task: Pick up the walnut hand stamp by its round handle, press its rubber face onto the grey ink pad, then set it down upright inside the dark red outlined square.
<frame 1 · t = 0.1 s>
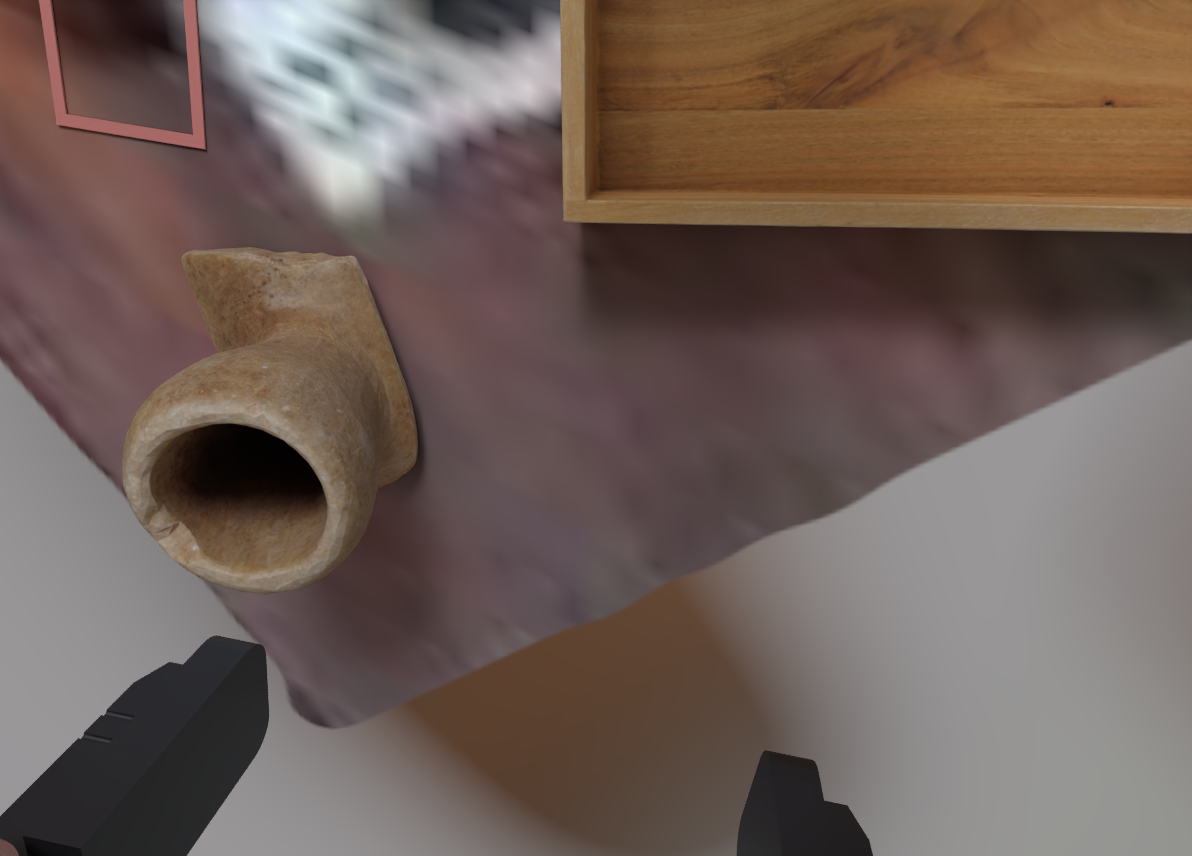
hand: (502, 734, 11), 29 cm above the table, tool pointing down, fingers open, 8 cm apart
tray: (917, 40, 33), on the table
marked square: (122, 49, 36), on the table
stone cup: (344, 360, 42), on the table
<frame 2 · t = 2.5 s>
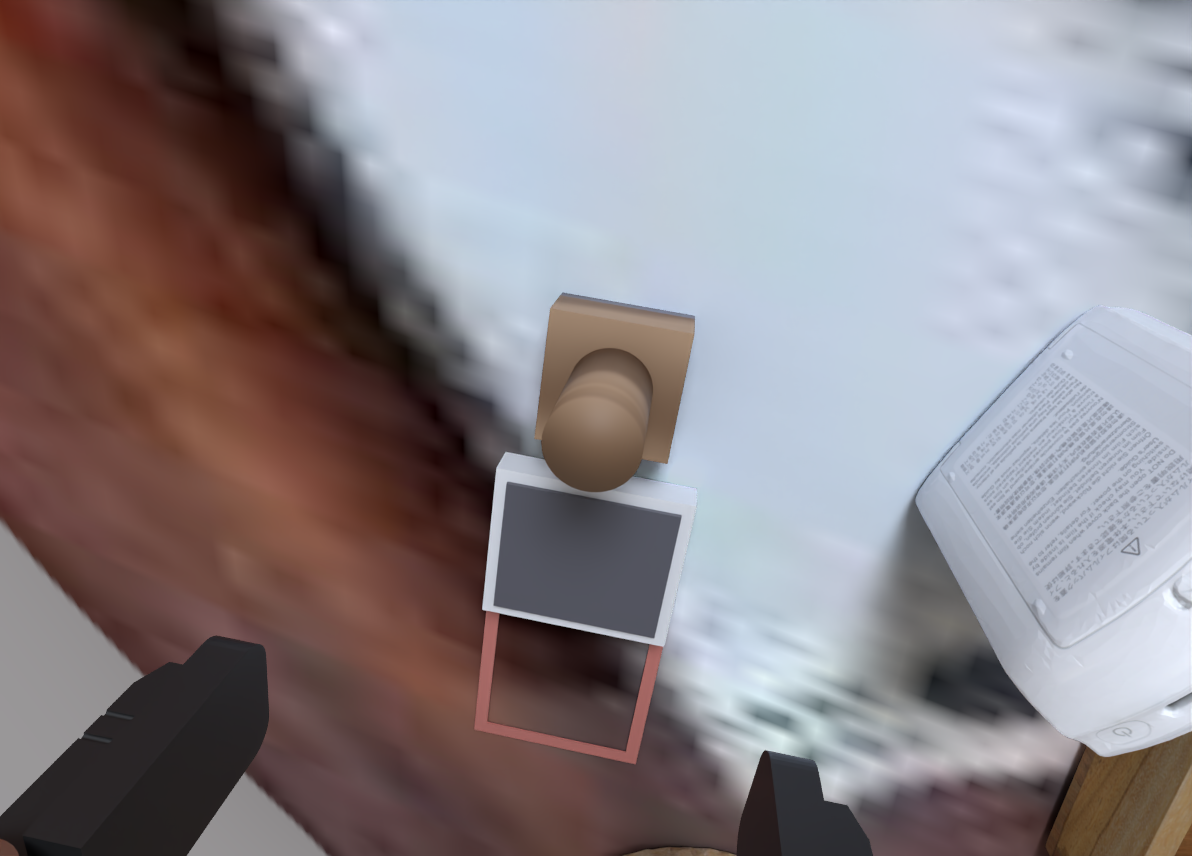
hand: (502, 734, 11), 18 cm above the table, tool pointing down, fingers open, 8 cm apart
ink pad: (588, 541, 31), on the table
photo printer: (1029, 427, 27), on the table
marked square: (565, 682, 34), on the table
hand stamp: (617, 366, 28), on the table
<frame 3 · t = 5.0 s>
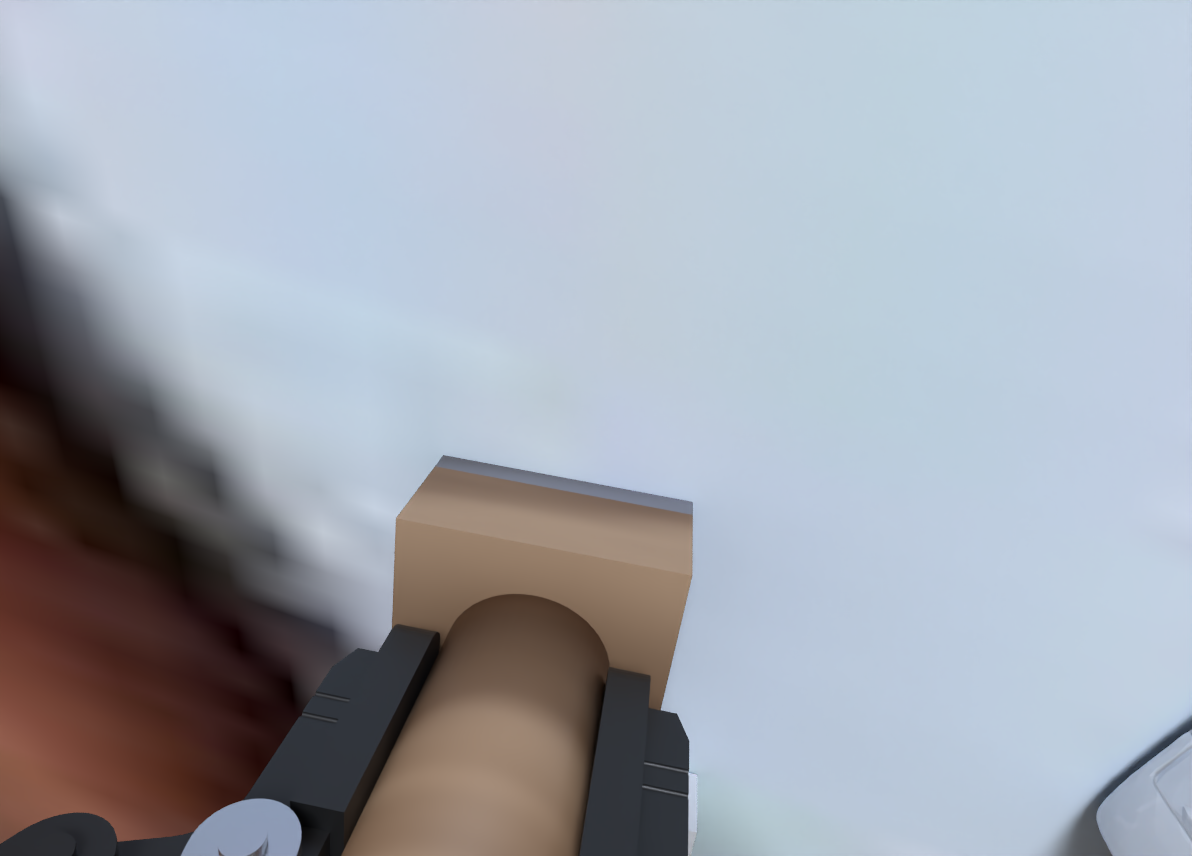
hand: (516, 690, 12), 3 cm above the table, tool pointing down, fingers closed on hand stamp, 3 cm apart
ink pad: (514, 839, 18), on the table
hand stamp: (551, 582, 15), on the table, touching gripper
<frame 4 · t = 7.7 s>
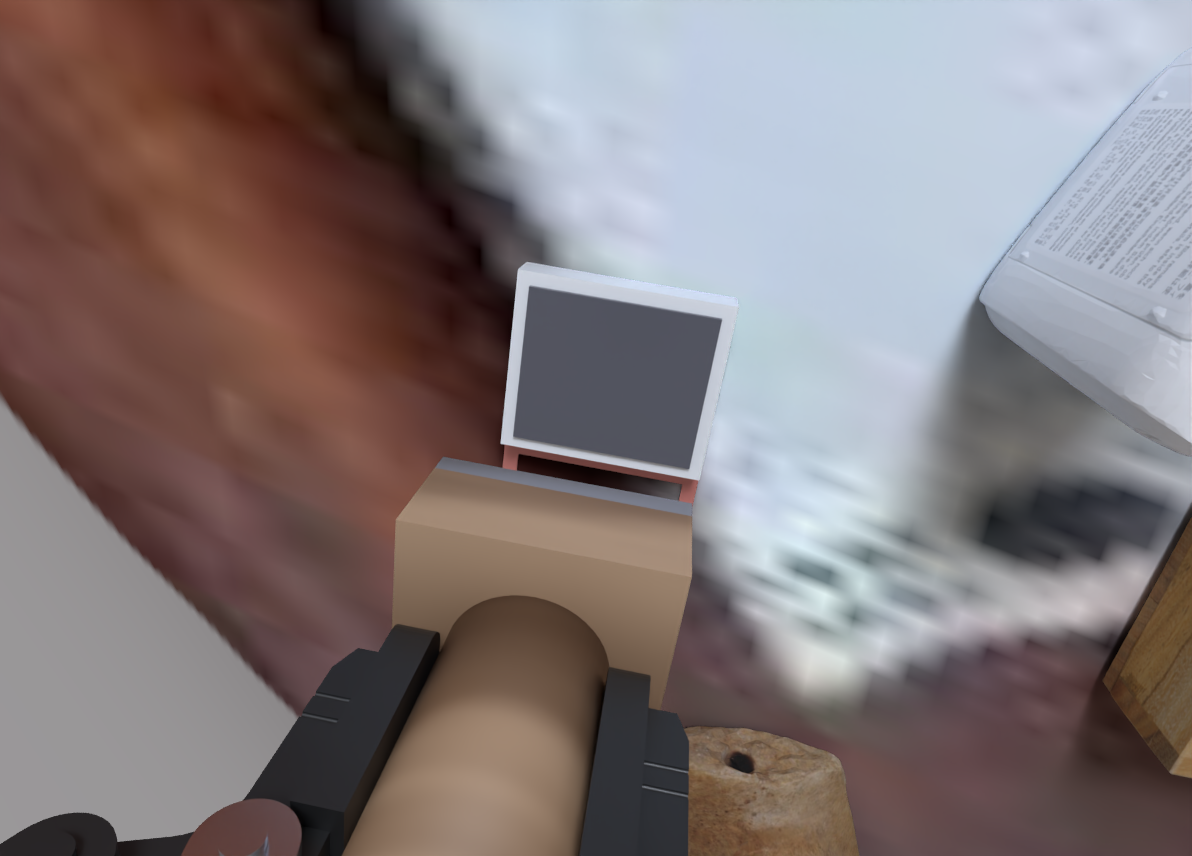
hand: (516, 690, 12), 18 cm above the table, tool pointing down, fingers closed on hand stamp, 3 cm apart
ink pad: (616, 367, 29), on the table
photo printer: (1106, 209, 25), on the table
marked square: (588, 538, 32), on the table
hand stamp: (551, 583, 15), point 15 cm above the table, touching gripper
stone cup: (770, 815, 37), on the table
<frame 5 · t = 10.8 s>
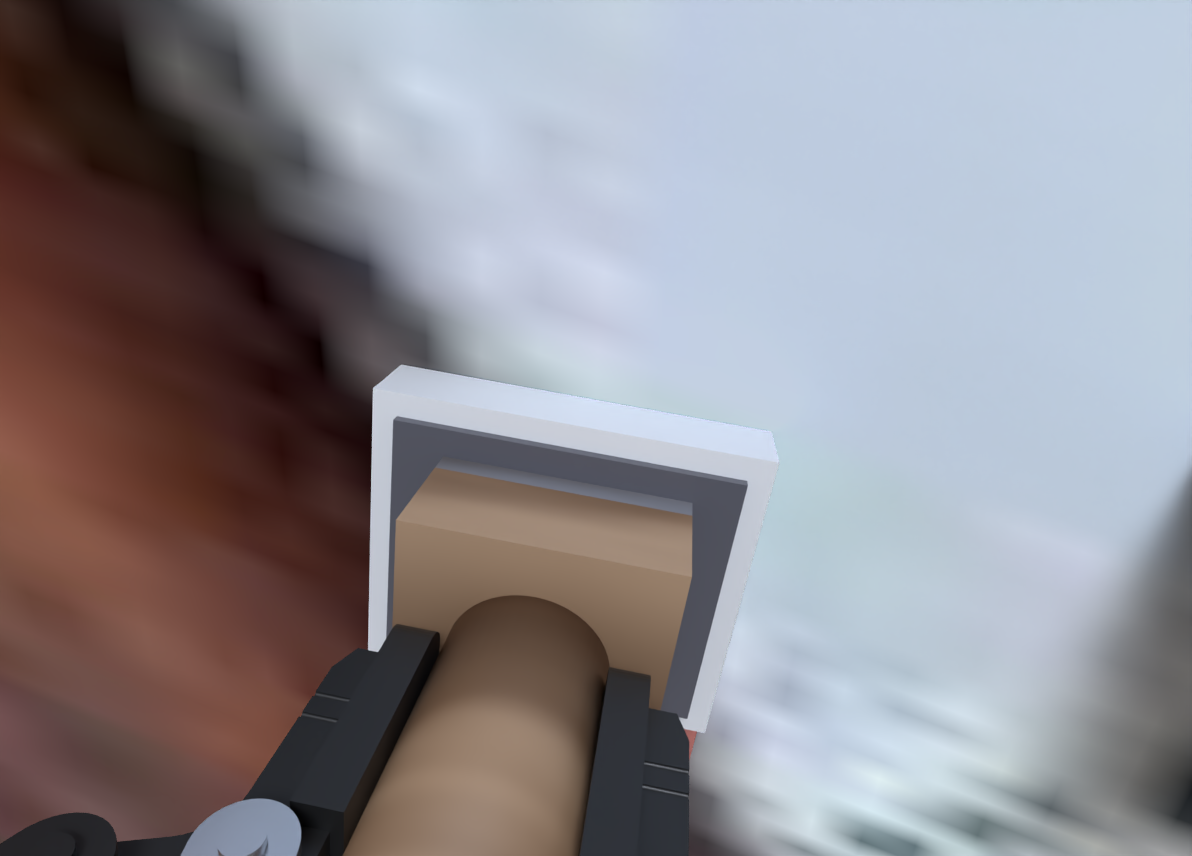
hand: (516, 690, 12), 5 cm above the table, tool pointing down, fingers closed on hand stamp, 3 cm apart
ink pad: (563, 536, 17), on the table
hand stamp: (551, 583, 15), point 2 cm above the table, touching gripper, ink pad
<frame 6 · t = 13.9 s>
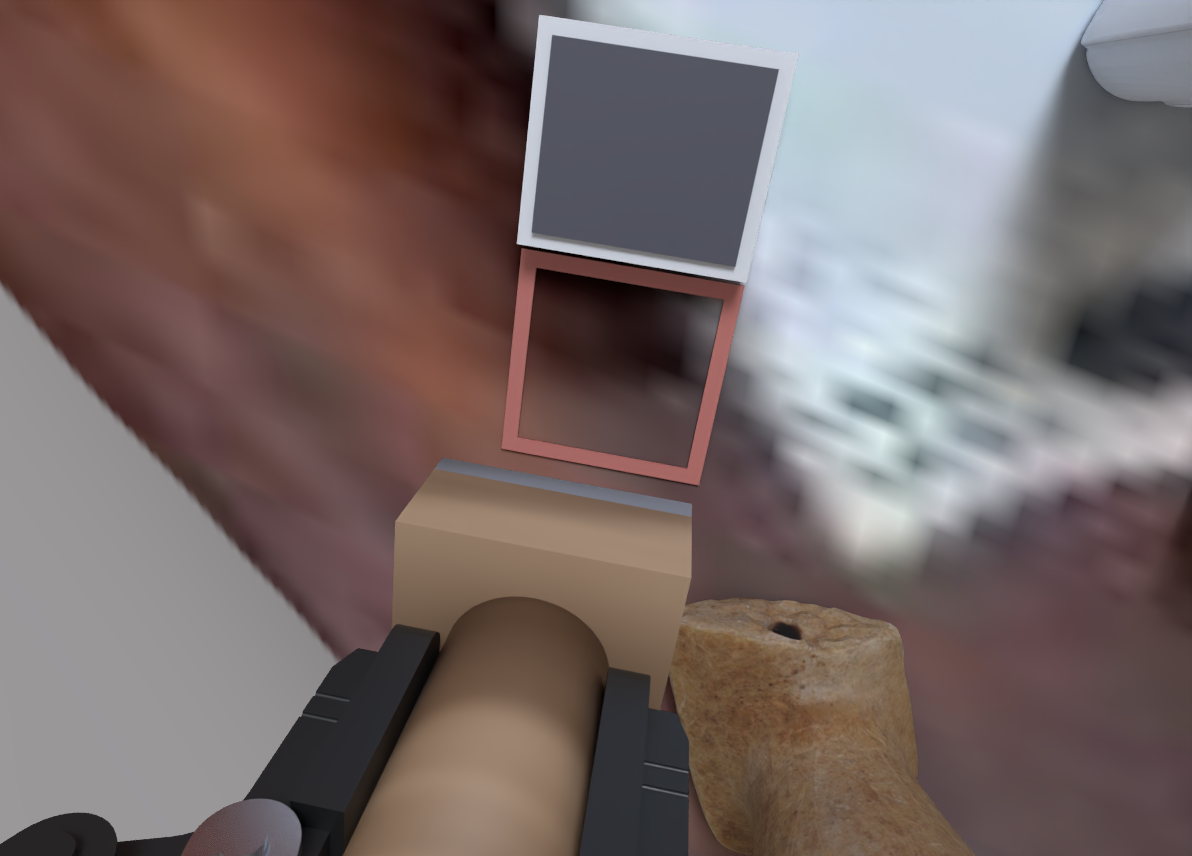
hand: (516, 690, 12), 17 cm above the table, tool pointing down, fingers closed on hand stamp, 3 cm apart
ink pad: (650, 153, 25), on the table
marked square: (615, 372, 28), on the table
hand stamp: (551, 584, 15), point 14 cm above the table, touching gripper
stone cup: (812, 707, 34), on the table
when the fingers open (4 cm above the table, at t = 16.8 s): hand stamp stays where it is, on the table.
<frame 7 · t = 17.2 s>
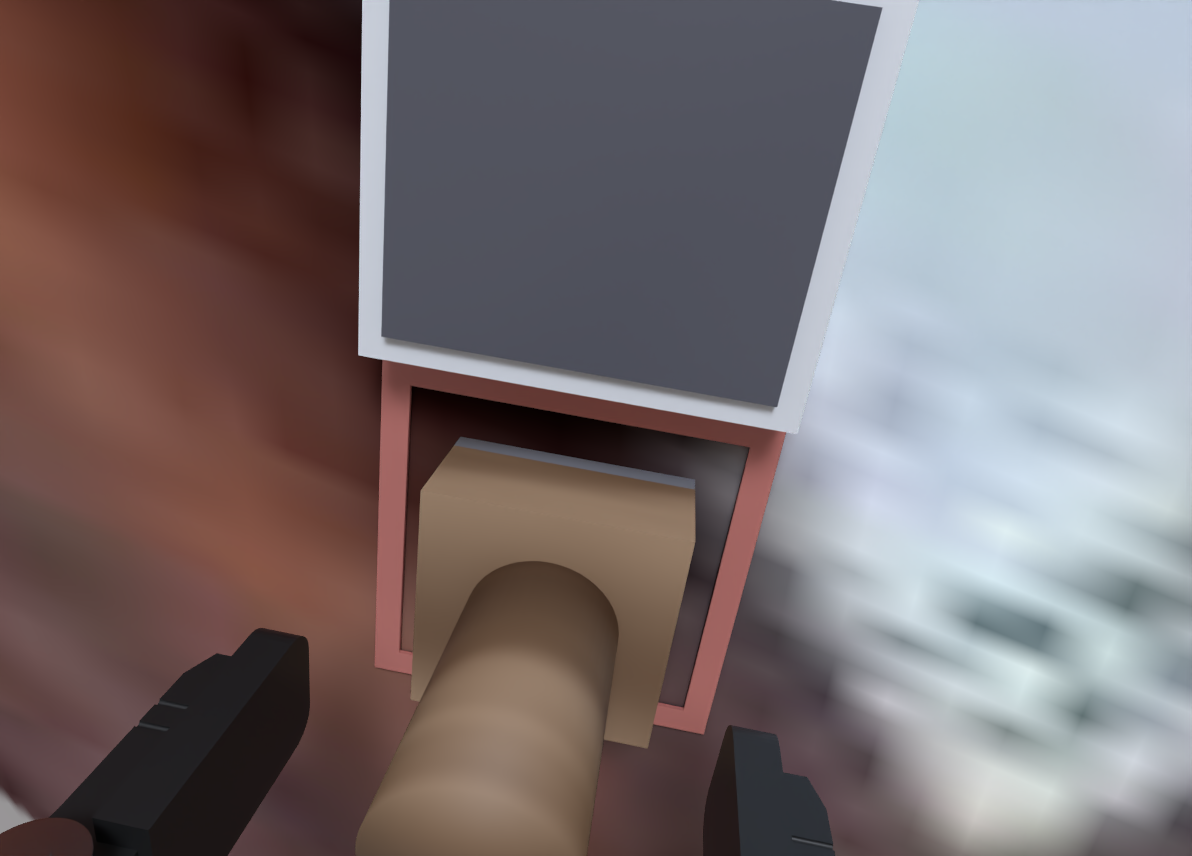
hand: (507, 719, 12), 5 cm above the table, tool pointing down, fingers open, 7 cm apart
ink pad: (612, 183, 13), on the table
marked square: (557, 557, 16), on the table
hand stamp: (562, 556, 16), on the table
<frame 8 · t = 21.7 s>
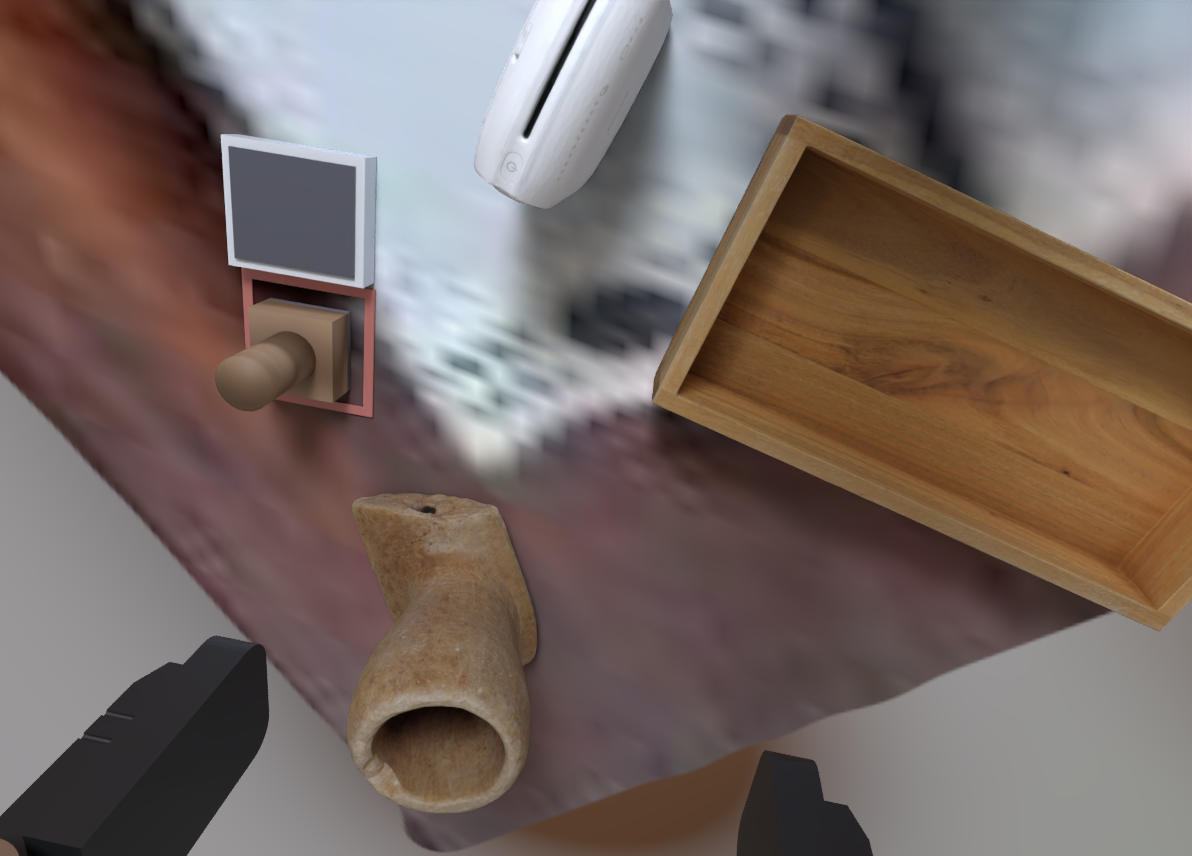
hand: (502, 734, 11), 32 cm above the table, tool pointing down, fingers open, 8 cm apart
tray: (960, 365, 41), on the table
ink pad: (307, 210, 41), on the table
photo printer: (596, 89, 37), on the table
marked square: (309, 344, 45), on the table
hand stamp: (311, 344, 45), on the table
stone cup: (475, 572, 50), on the table
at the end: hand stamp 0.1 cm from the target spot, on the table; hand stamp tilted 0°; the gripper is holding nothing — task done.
